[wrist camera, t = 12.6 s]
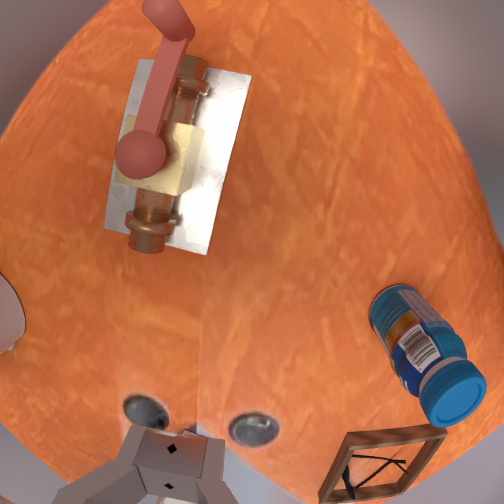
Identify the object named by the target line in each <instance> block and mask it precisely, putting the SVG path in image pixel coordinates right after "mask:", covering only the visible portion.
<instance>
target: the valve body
mask: <svg viewBox="0 0 504 504" xmlns="http://www.w3.org/2000/svg"><path fill="white" fill-rule="evenodd" d="M153 63H154V60H149V59H139V62H138V65H137V69H136V72H135V75H134V79H133V82H132V86H131V89H130V93H129V97H128V101H127V105H126V109H125V113H124V117H123V121H122V125H121V130H120V134H119V139H118V142H119V141H120V139H121V138H122V137H123V136H124V135H125V134H127V133H128V132H131V131H133V128H134V124H135V121H136V117H137V114H138V110H139V107H140V103H141V100H142V97H143V94H144V90H145V87H146V84H147V81H148V78H149V75H150V72H151V69H152V66H153ZM207 66H208V62H206V61H205V60H203V59H200V58H197V57H194V56H190V55H184V57H183V60H182V63H181V66H180V69H179V72H178V75H177V78H176V81H175V84H174V87H173V90H172V93H171V96H170V99H169V102H168V106H167V109H166V112H165V116H164V119H163V122H162V126H161V129H160V133H159V137H160V138H161V139H162V141H163V143H164V145H165V149H166V158H165V162H164V164H163V166H162V168H161V169H160V170H159V171H158V172H157V173H156V174H155V175H153V176H151V177H148V178H144V179H140V180H133V179H129V178H127V177H125V176H124V175H123V174H122V173H121V172H120V171H119V170H118V168H117V166H116V163H115V158H114V164H113V169H112V175H111V181H110V187H109V193H108V200H107V207H106V215H105V223H104V228H106V229H109V230H113V231H116V232H120V233H124V234H128V235H130V236H129V243H128V245H129V247H130V248H132V249H133V250H136V251H138V252H142V253H148V254H157V253H161V252H163V251H164V249H165V245H169V246H172V247H176V248H180V249H184V250H187V251H191V252H195V253H199V254H203V255H207V252H208V248H209V243H210V239H211V234H212V230H213V226H214V222H215V217H216V213H217V209H218V205H219V201H220V197H221V192H222V188H223V184H224V180H225V176H226V172H227V168H228V164H229V161H230V157H231V153H232V149H233V145H234V141H235V138H236V134H237V130H238V126H239V123H240V119H241V115H242V112H243V108H244V104H245V101H246V97H247V94H248V90H249V87H250V83H251V80H252V76H250V75H245V74H240V73H236V72H231V71H226V70H220V69H215V68H209V67H207ZM117 144H118V143H117Z"/></svg>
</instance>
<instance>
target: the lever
mask: <svg viewBox="0 0 504 504" xmlns="http://www.w3.org/2000/svg"><path fill="white" fill-rule="evenodd" d="M142 12H143V13H144V15H145V16H146V17H147V18H148V19H149V20H150V21H151V22H152V23H153V24H154V25H155V26H156V27H157V28H158V29H159V31H160V32H161V33H162V34H163V35H164V36H163V39H162V41H161V44H160V47H159V49H158V52H157V55H156V58H155V60H154V63H153V66H152V69H151V72H150V75H149V78H148V81H147V84H146V87H145V90H144V94H143V97H142V100H141V103H140V107H139V110H138V114H137V117H136V121H135V124H134V128H133V131H131V132H128V133H127V134H125V135H124V136H123V137H122V138H121V139H120V141H119V142H118V144H117V146H116V149H115V163H116V166H117V168H118V170H119V171H120V172H121V173H122V174H123V175H124V176H125V177H127V178H129V179H133V180H140V179H144V178H148V177H151V176H153V175H155V174H156V173H157V172H158V171H159V170H160V169H161V168H162V166H163V164H164V162H165V158H166V149H165V145H164V143H163V141H162V139H161V138H160V137H159V133H160V129H161V126H162V122H163V119H164V116H165V112H166V109H167V106H168V102H169V99H170V96H171V93H172V90H173V87H174V84H175V81H176V78H177V75H178V72H179V69H180V66H181V63H182V60H183V57H184V55H185V52H186V49H187V47H188V44H189V42H190V41H191V40H192V39H193V38H194V36H195V28H194V26H193V24H192V22H191V21H190V19H189V17H188V16H187V14H186V12H185V11H184V9H183V8H182V6H181V4H180V3H179V1H178V0H144V2H143V4H142Z"/></svg>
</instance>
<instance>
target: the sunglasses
mask: <svg viewBox="0 0 504 504" xmlns="http://www.w3.org/2000/svg"><path fill="white" fill-rule="evenodd" d="M352 457H357V458H374V459H383V460H388V461H389V462H387V463H386V464H385V465H384V466H382V467H381V468H380V469H379V470H378V471H376V472H375V473H374V474H373V475H371V476H370V477H369V478H367V479H366V480H365V481H363V482H362V483H361V484H359V485H358V486H356V487H355V488H353V487H352V486H351V485H350V483H349V468H348V464H347V466H346V468H345V470H344V472H343V473H342V479H343V480H344V483H345V486H346V489H347V492H348V495H349V496H350V498H351V499H352V500H355V495H354V491H353V490H354V489H355V490H356V489H357V488H359V487H360V486H362V485H363V484H365V483H366V482H367V481H369V480H370V479H371V478H373V477H374V476H375V475H376V474H378V473H379V472H380V471H381V470H382V469H384V468H385V467H386V466H387V465H388V464H390V463H392V462H393V463H395V464H396V465H397V466H398V467H399V468H400V469H401V470H402V471H403V472H405V473H406V474H407V475H409V474H408V472H407V471H406V470H405V469H404V468H402V467H401V466H400V465H399V464H398V463H403V464H406V460H392V459H388V458H382V457H373V456H364V455H352Z"/></svg>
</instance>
